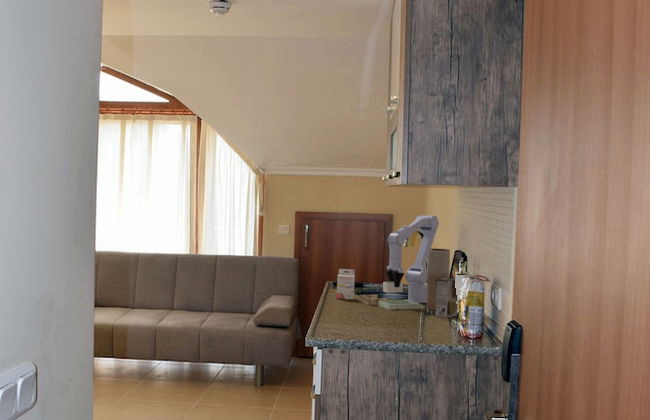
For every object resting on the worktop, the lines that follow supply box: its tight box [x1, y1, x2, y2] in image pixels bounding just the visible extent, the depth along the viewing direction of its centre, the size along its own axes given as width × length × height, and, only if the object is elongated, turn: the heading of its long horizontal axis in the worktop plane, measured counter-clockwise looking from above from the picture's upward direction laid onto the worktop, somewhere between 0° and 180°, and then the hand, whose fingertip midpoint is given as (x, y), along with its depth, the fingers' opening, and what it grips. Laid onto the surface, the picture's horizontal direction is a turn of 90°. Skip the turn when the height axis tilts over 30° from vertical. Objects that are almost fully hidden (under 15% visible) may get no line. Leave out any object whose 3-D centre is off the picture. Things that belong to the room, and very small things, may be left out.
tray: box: [377, 299, 422, 311], centre depth 294 cm, size 16×12×2 cm
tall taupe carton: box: [425, 248, 451, 311], centre depth 292 cm, size 10×10×28 cm
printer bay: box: [358, 294, 389, 306], centre depth 305 cm, size 10×13×3 cm
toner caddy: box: [382, 280, 404, 294], centre depth 302 cm, size 8×5×5 cm, turn 108°
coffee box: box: [434, 277, 457, 319], centre depth 274 cm, size 9×6×16 cm
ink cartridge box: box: [336, 268, 356, 300], centre depth 316 cm, size 9×5×15 cm, turn 84°
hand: (394, 286), depth 302 cm, fingers closed on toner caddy, 5 cm apart
